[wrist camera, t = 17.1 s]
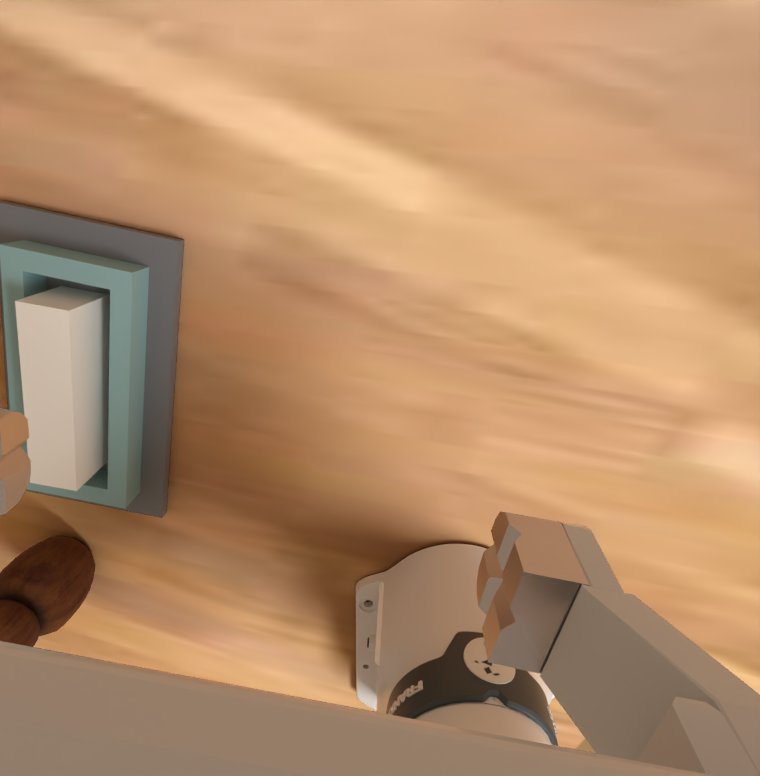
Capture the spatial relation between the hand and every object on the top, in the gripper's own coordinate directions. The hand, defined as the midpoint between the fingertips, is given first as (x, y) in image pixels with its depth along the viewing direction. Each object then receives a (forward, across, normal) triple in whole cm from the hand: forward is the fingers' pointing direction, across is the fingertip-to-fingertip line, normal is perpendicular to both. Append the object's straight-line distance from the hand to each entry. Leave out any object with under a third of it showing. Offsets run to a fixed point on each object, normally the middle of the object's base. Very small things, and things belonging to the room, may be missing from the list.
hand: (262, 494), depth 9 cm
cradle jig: (+31, +20, +14) cm, 39 cm away
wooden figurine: (+31, +22, +33) cm, 50 cm away
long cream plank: (+30, +20, +14) cm, 39 cm away
